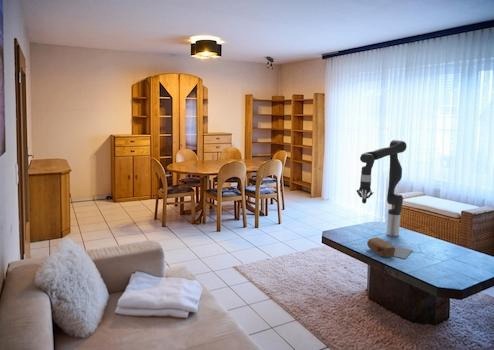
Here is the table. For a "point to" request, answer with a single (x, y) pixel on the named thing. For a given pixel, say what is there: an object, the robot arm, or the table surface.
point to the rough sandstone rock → (381, 247)
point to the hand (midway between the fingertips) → (364, 203)
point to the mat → (401, 252)
